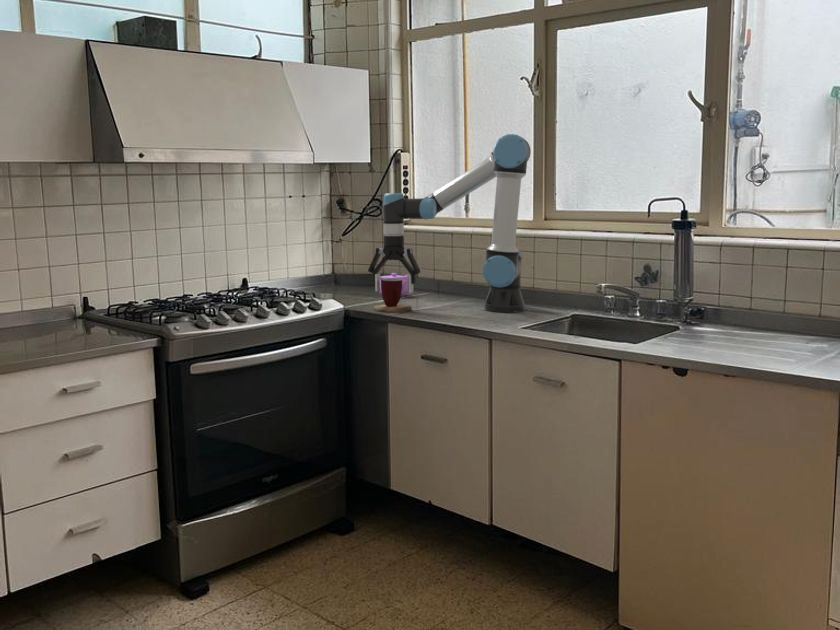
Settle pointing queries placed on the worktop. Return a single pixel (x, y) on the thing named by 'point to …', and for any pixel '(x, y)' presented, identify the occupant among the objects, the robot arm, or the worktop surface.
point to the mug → (391, 291)
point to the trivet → (393, 308)
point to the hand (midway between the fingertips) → (394, 292)
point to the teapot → (404, 278)
